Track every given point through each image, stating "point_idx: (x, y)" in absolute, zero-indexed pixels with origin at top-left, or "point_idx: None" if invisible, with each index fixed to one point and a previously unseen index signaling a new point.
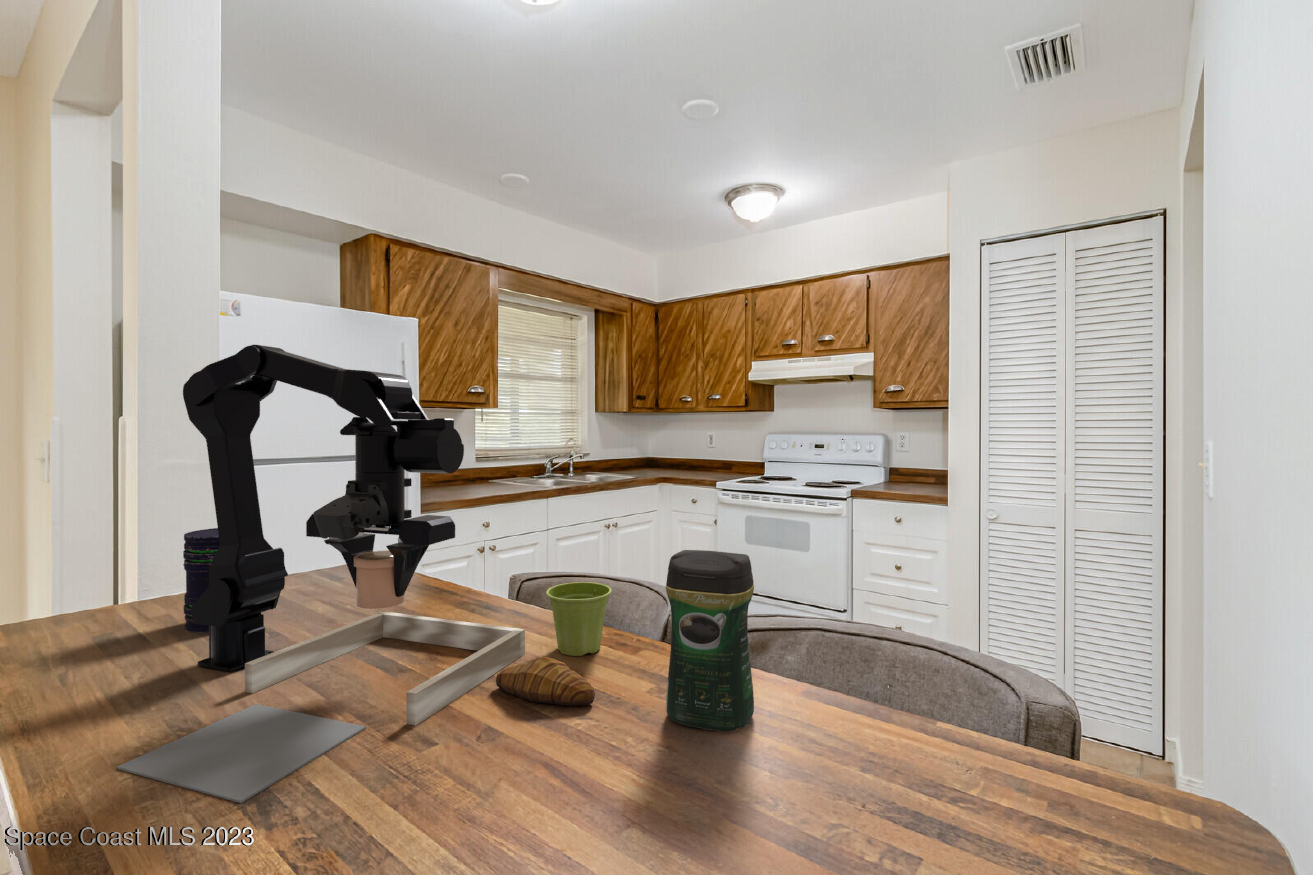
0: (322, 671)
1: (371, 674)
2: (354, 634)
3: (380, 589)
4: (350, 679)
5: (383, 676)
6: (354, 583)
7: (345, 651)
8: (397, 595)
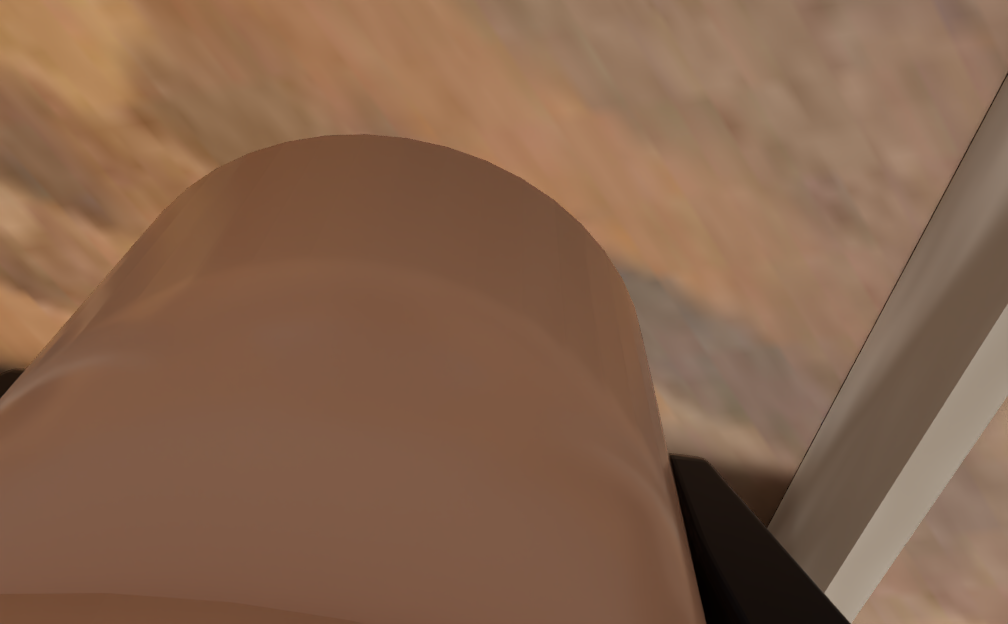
0: (866, 144)
1: (552, 150)
2: (854, 473)
3: (79, 318)
4: (635, 65)
5: (467, 136)
6: (770, 540)
7: (854, 376)
8: (16, 376)
